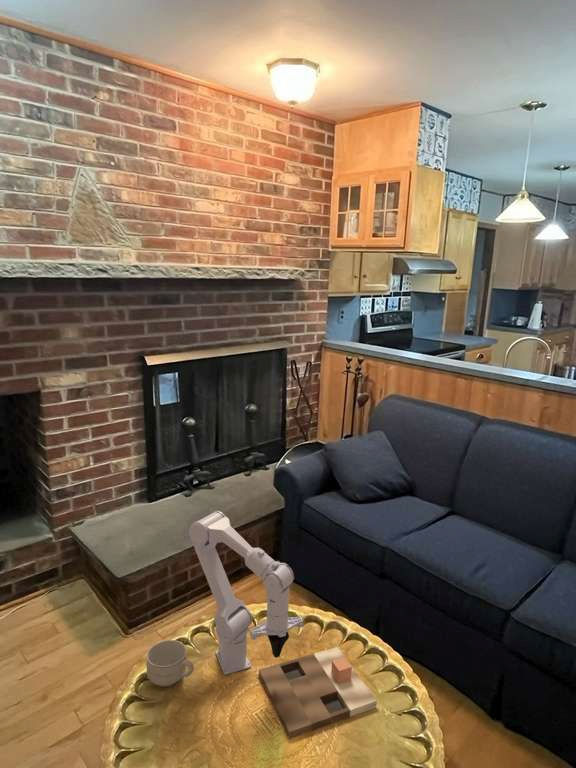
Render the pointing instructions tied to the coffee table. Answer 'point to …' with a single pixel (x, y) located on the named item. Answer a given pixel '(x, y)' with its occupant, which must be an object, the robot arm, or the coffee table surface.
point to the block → (341, 670)
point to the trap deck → (313, 692)
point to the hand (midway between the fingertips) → (275, 654)
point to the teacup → (167, 662)
